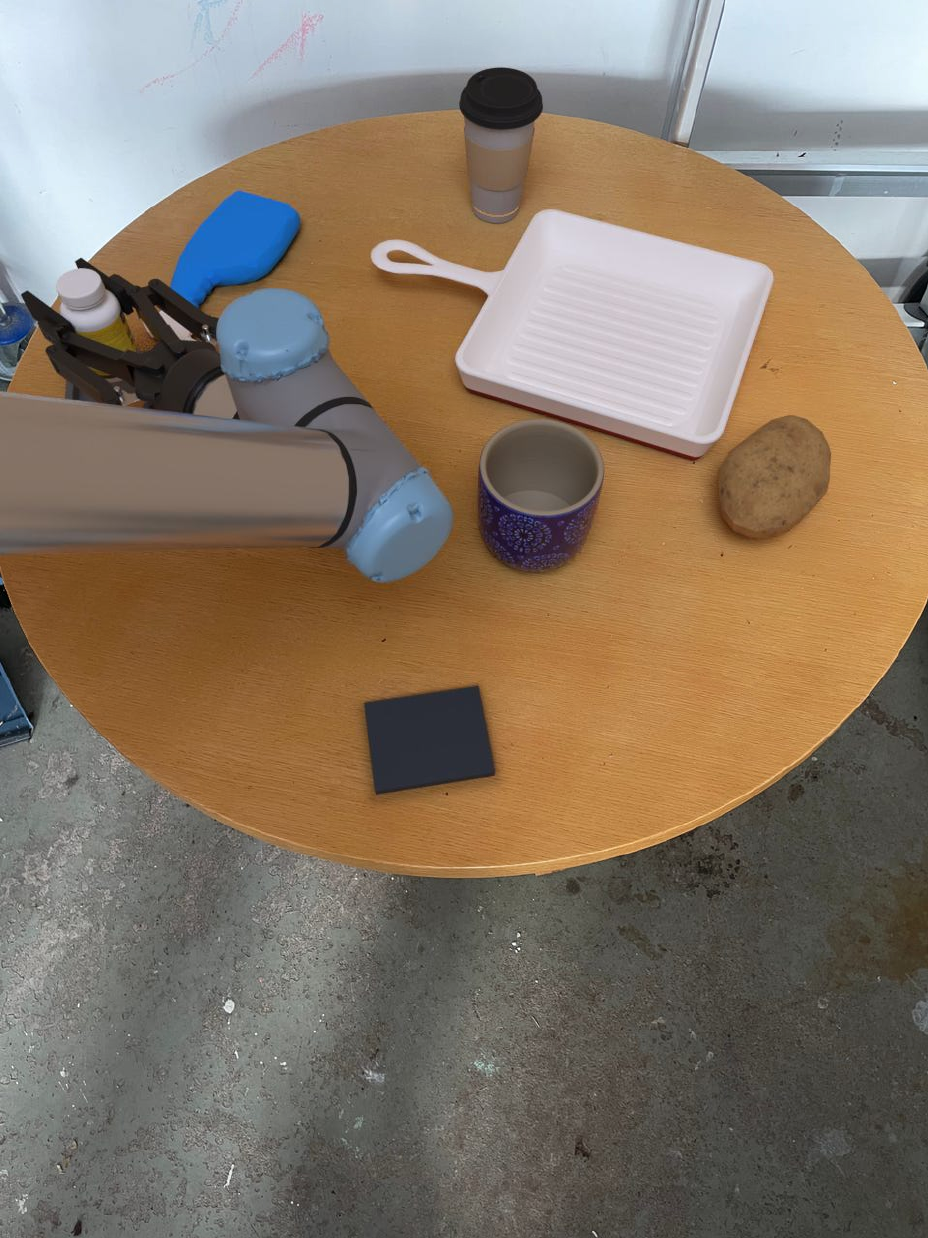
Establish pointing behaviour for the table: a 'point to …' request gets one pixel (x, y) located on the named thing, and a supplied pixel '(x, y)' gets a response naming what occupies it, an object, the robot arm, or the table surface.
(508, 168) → the coffee cup
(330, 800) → the table surface
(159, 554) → the table surface
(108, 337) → the supplement bottle
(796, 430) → the potato
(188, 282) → the spray bottle
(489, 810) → the table surface
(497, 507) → the planter
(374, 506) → the robot arm
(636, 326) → the pan
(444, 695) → the slate mat
